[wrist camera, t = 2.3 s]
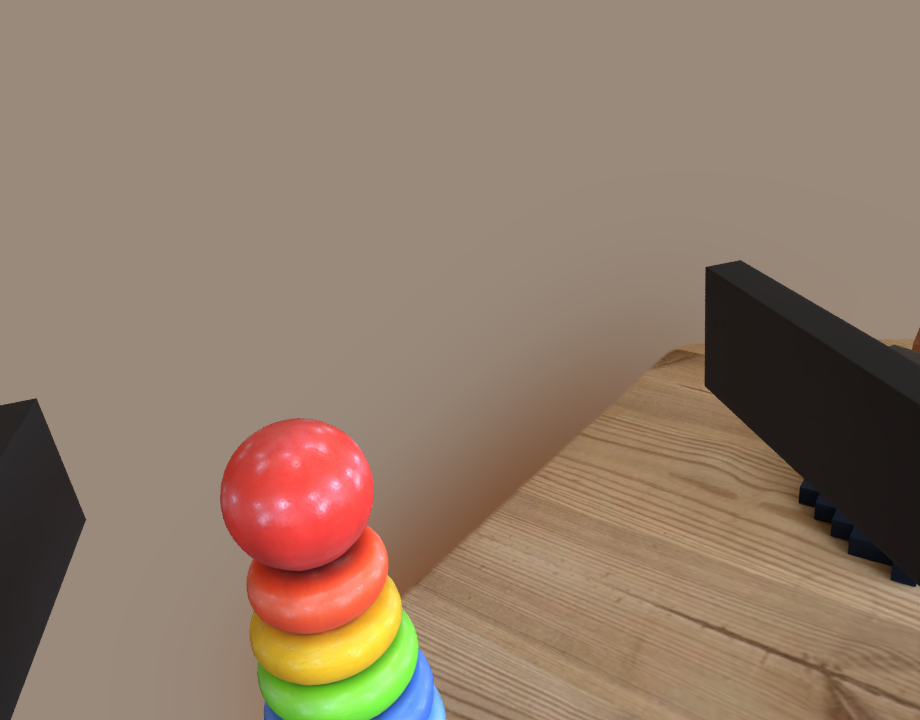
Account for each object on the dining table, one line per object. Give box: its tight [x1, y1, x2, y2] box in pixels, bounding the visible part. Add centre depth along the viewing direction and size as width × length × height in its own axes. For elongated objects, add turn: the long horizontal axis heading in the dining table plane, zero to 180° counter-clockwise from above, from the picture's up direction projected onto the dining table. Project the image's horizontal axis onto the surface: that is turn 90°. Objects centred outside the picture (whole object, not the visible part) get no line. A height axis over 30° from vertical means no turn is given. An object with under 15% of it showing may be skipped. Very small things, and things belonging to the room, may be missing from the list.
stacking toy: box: [220, 418, 446, 720], centre depth 30 cm, size 8×8×19 cm
